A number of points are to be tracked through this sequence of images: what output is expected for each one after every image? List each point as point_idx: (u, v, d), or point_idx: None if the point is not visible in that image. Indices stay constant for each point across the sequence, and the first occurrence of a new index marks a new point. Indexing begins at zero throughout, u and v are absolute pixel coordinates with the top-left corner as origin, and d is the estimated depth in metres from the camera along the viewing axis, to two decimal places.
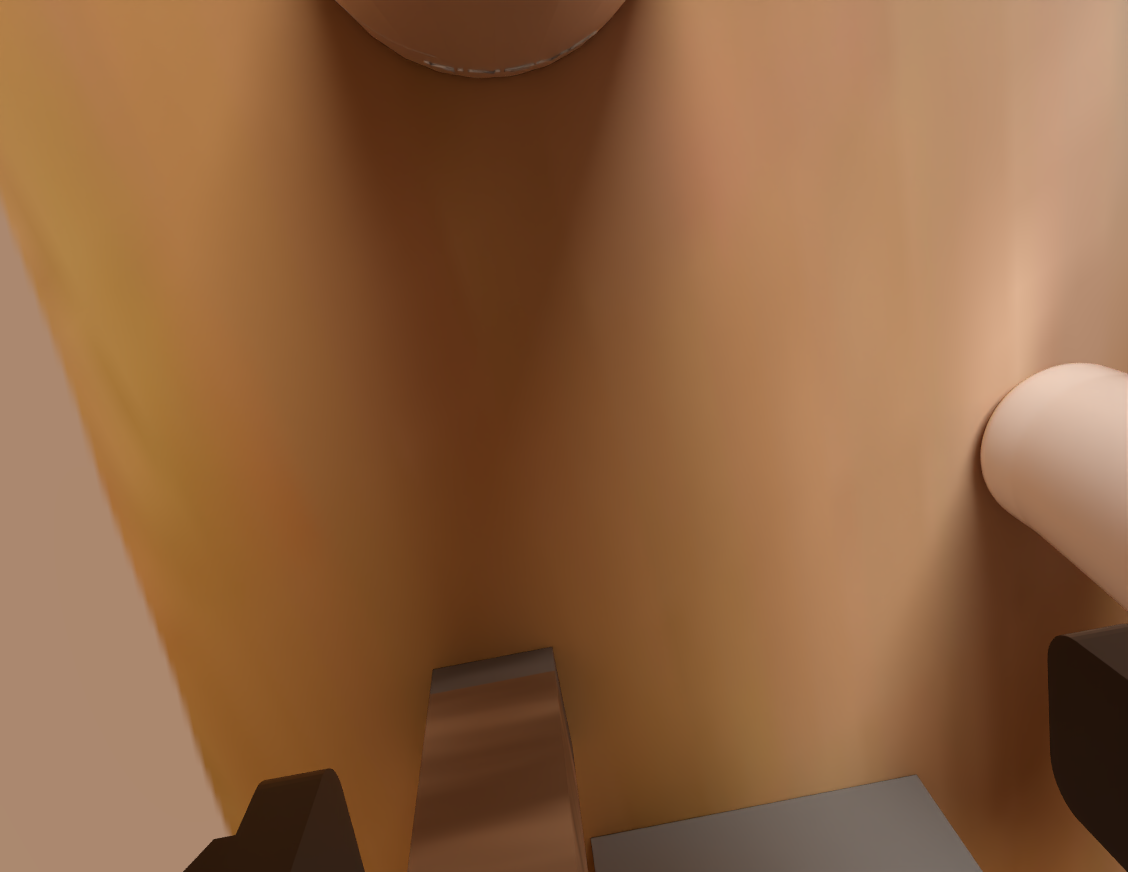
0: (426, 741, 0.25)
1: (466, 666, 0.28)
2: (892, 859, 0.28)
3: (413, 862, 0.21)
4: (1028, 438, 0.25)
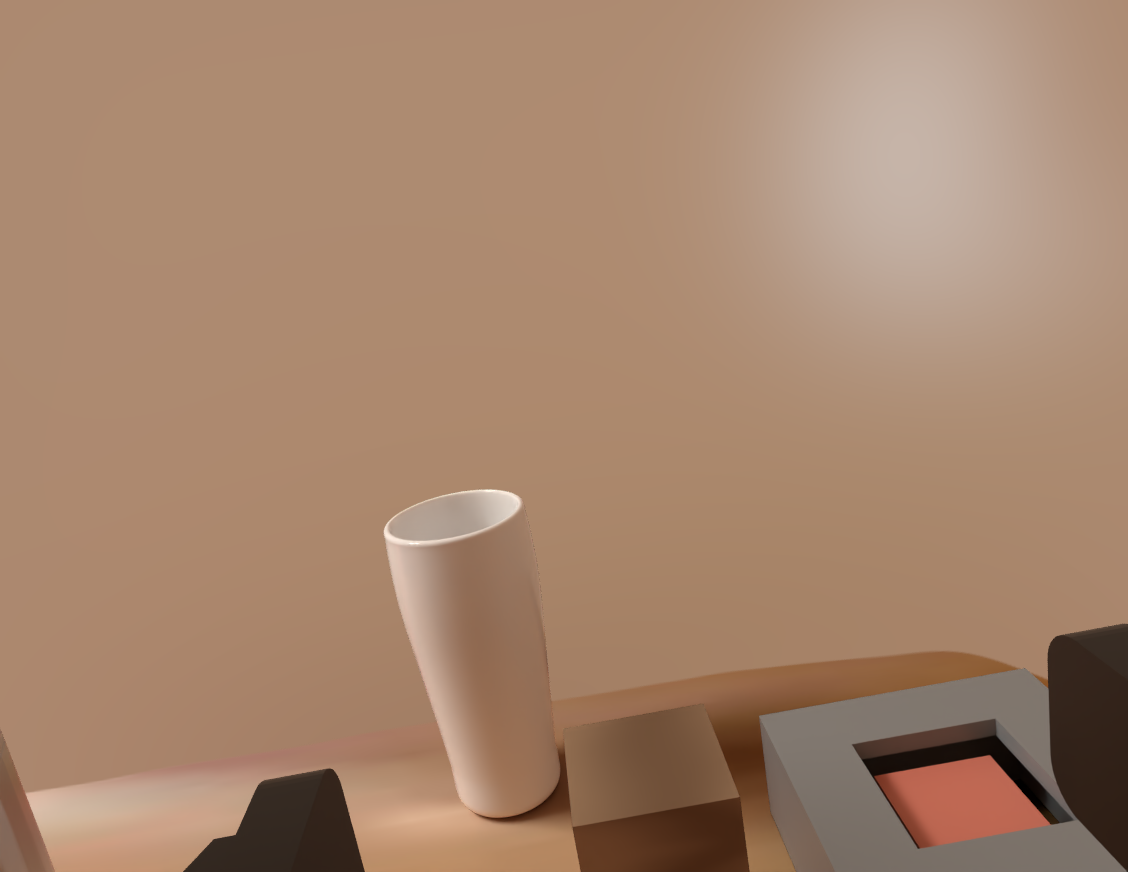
0: None
1: None
2: (778, 780, 0.36)
3: None
4: (473, 777, 0.41)
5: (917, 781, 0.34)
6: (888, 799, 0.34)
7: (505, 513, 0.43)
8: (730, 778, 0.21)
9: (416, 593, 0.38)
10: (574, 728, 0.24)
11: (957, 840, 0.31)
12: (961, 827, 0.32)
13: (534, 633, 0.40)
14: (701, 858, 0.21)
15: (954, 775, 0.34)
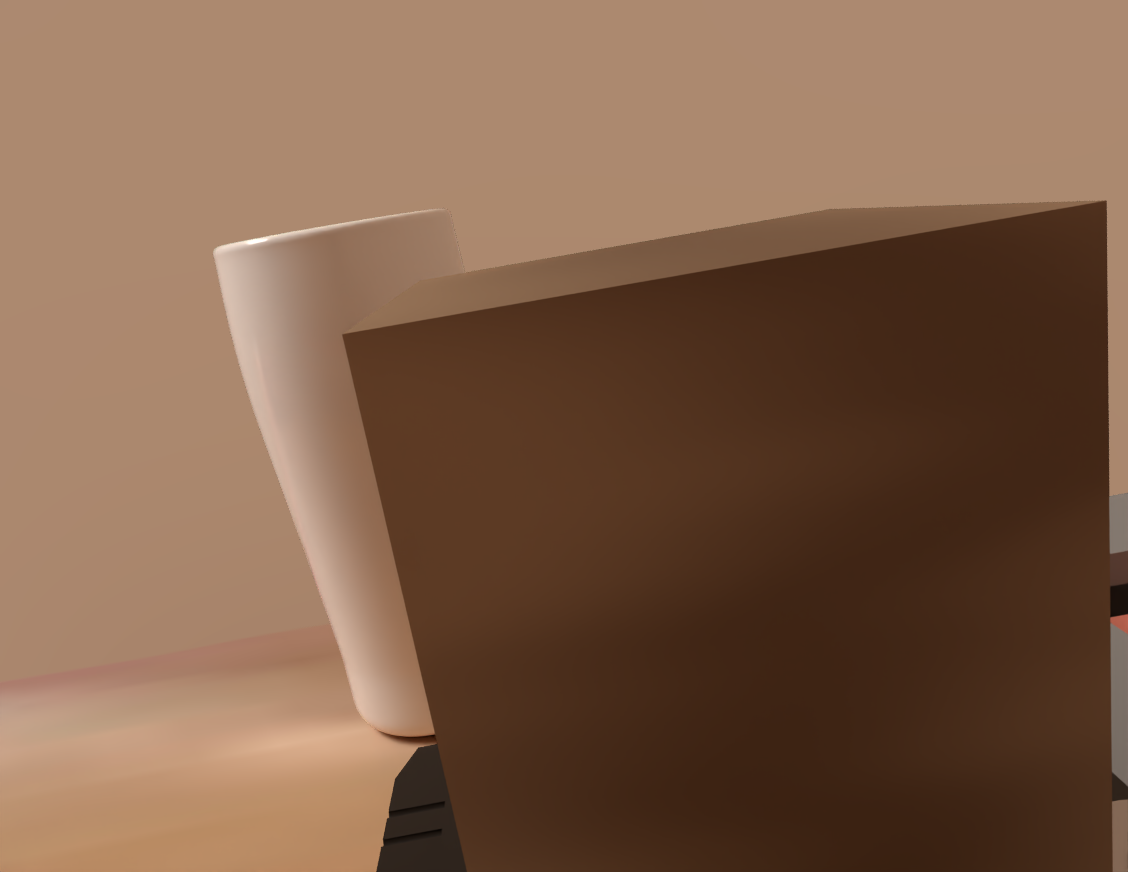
0: None
1: None
2: None
3: None
4: (372, 669, 0.25)
5: None
6: None
7: None
8: (1020, 204, 0.05)
9: (259, 337, 0.22)
10: (453, 275, 0.08)
11: None
12: None
13: None
14: (914, 512, 0.05)
15: None
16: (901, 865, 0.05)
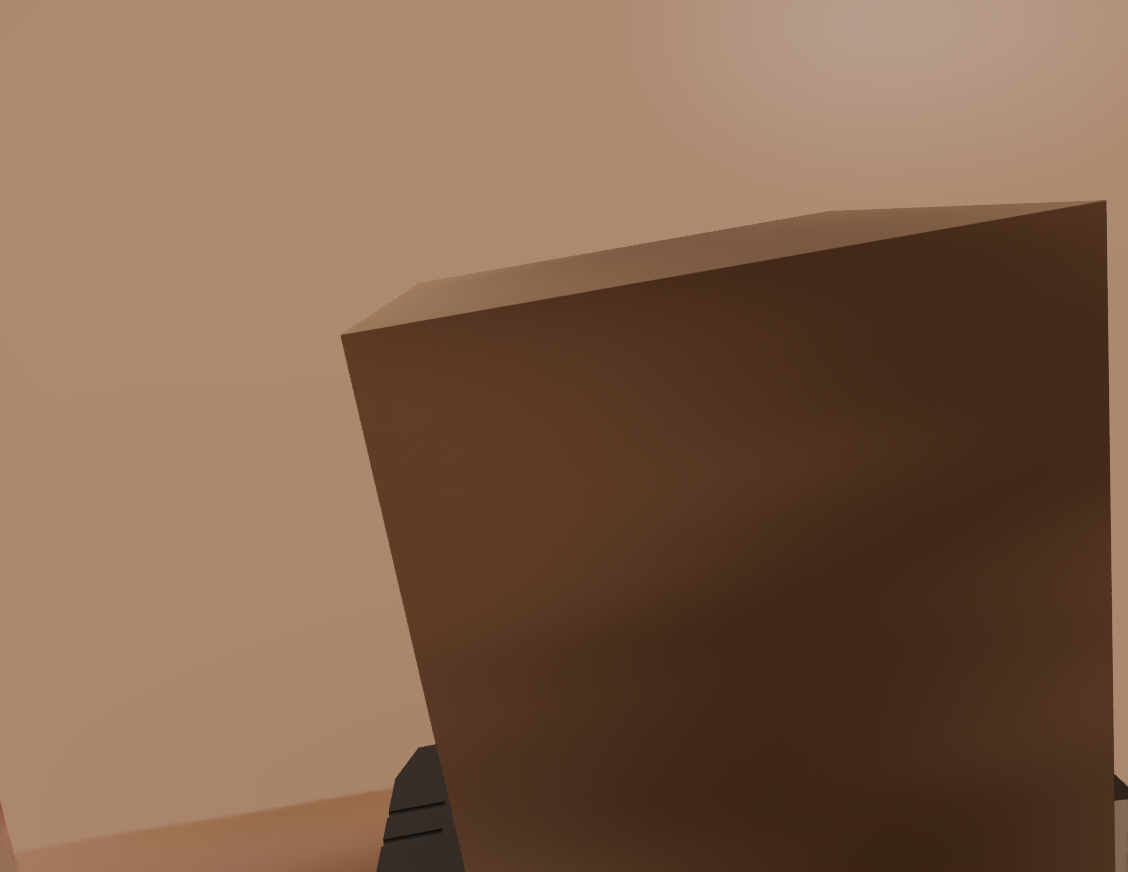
0: None
1: None
2: None
3: None
4: None
5: None
6: None
7: None
8: (1020, 204, 0.05)
9: None
10: (453, 277, 0.08)
11: None
12: None
13: None
14: (916, 513, 0.05)
15: None
16: (905, 869, 0.05)
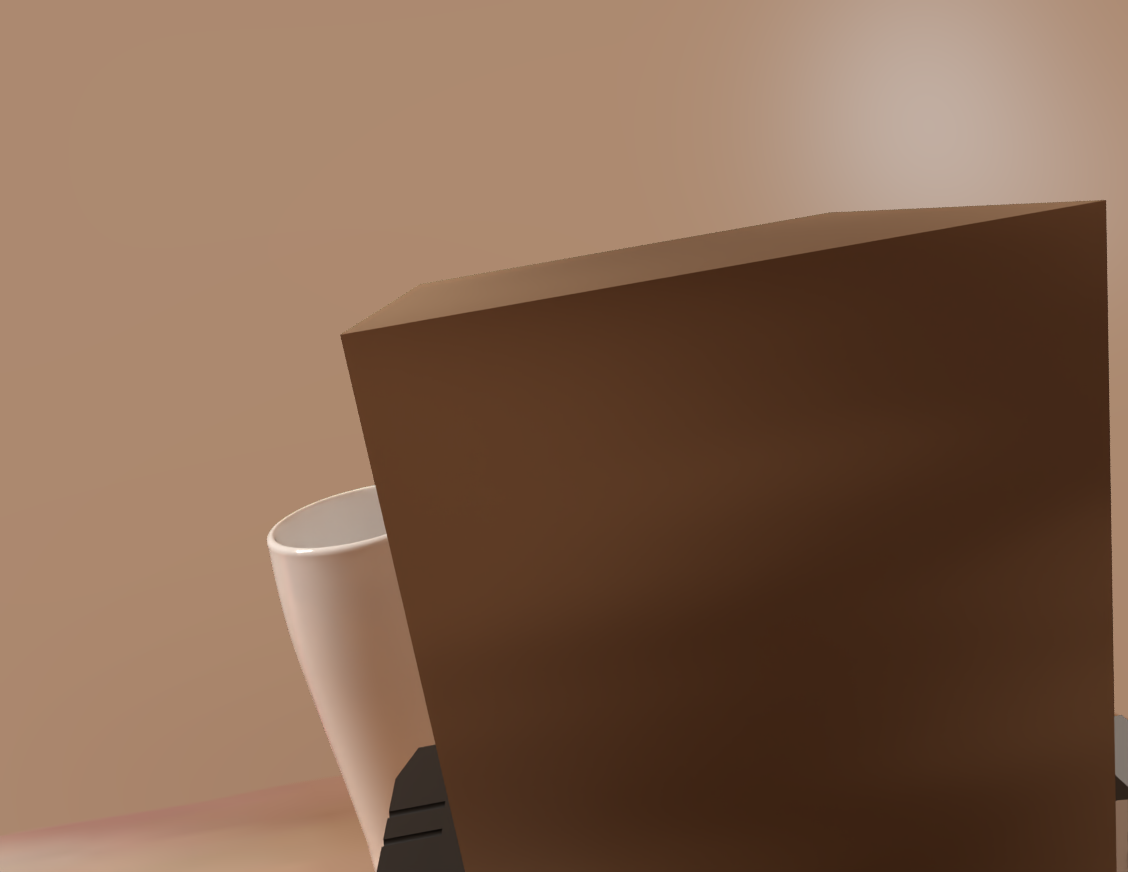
0: None
1: None
2: None
3: None
4: None
5: None
6: None
7: None
8: (1019, 204, 0.05)
9: (305, 618, 0.29)
10: (453, 279, 0.08)
11: None
12: None
13: None
14: (916, 513, 0.05)
15: None
16: (904, 869, 0.05)
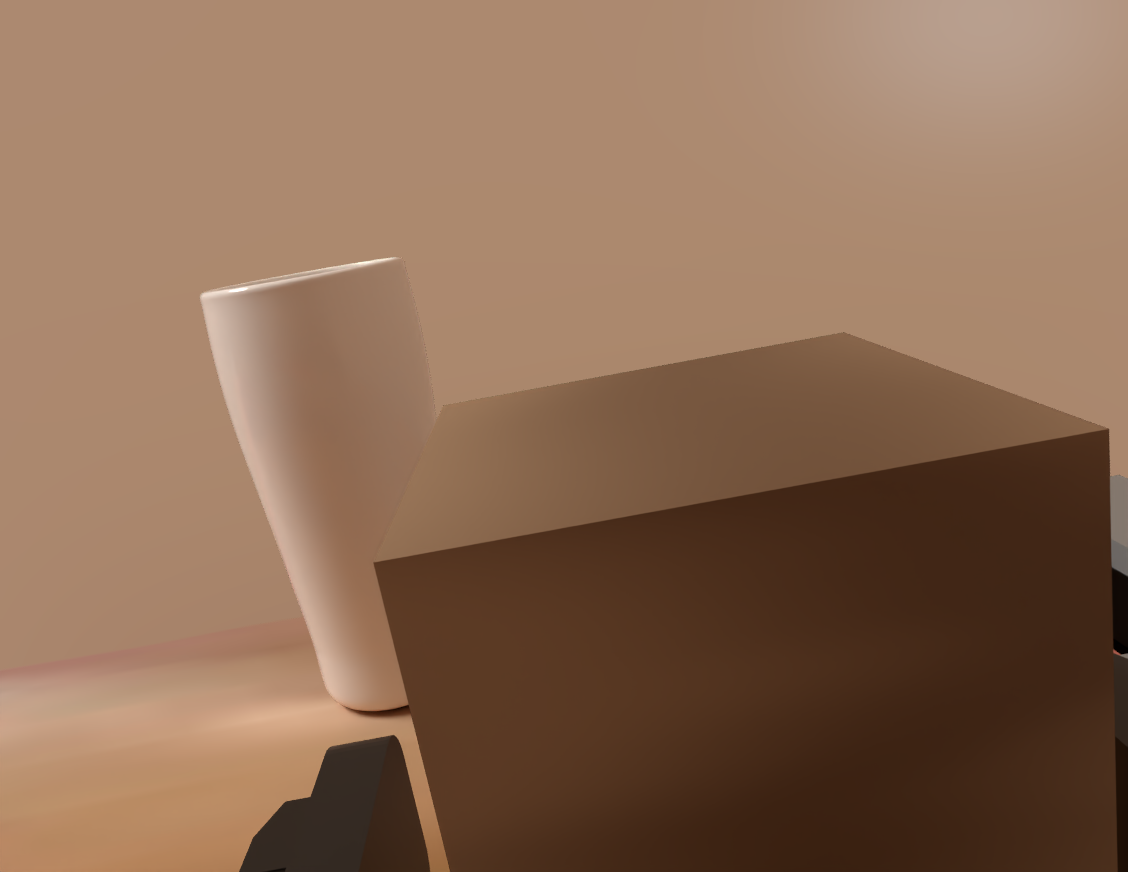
0: None
1: None
2: None
3: None
4: (337, 652, 0.29)
5: None
6: None
7: None
8: (1026, 402, 0.05)
9: (238, 370, 0.26)
10: (475, 401, 0.08)
11: None
12: None
13: (418, 443, 0.28)
14: (923, 714, 0.05)
15: None
16: None
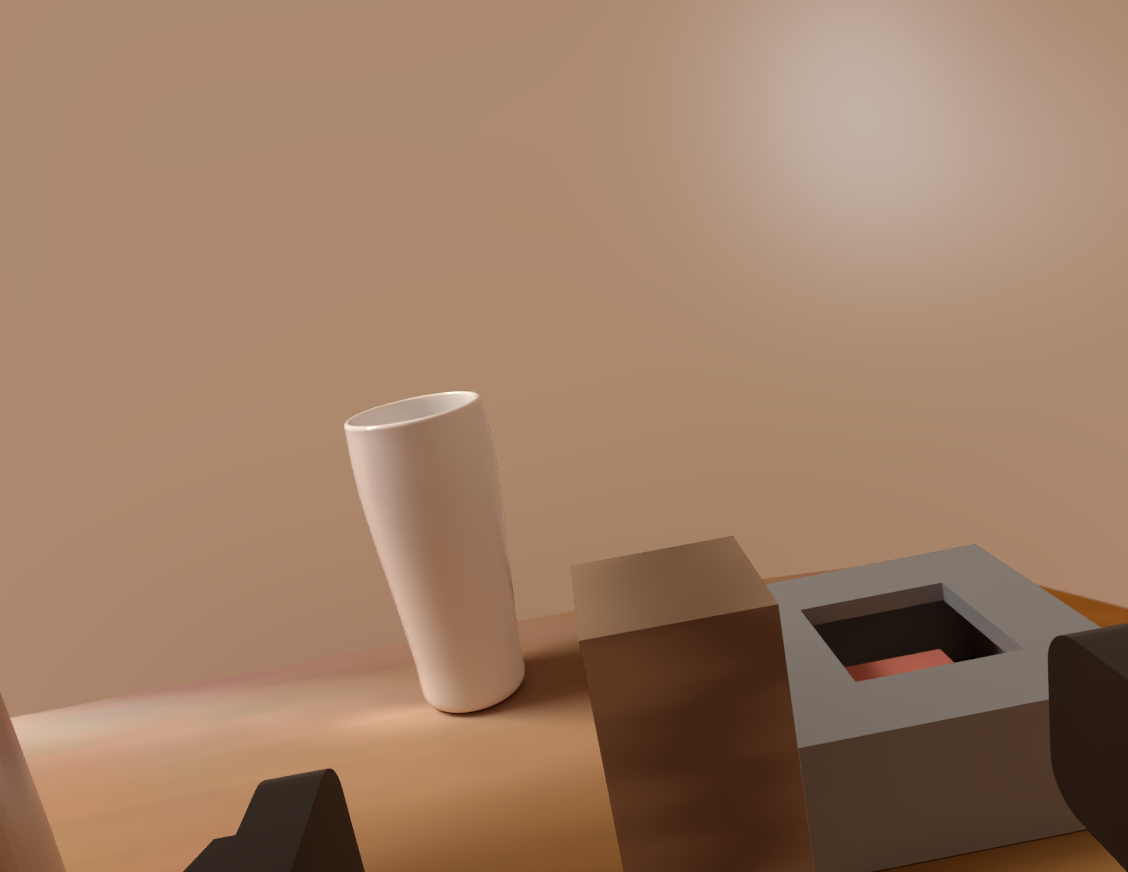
0: None
1: None
2: None
3: None
4: (436, 671, 0.42)
5: (867, 673, 0.35)
6: None
7: None
8: (766, 590, 0.18)
9: (374, 479, 0.39)
10: (583, 564, 0.21)
11: None
12: None
13: (493, 524, 0.41)
14: (733, 683, 0.17)
15: (904, 666, 0.35)
16: (737, 785, 0.18)
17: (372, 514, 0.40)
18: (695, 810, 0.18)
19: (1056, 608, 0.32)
